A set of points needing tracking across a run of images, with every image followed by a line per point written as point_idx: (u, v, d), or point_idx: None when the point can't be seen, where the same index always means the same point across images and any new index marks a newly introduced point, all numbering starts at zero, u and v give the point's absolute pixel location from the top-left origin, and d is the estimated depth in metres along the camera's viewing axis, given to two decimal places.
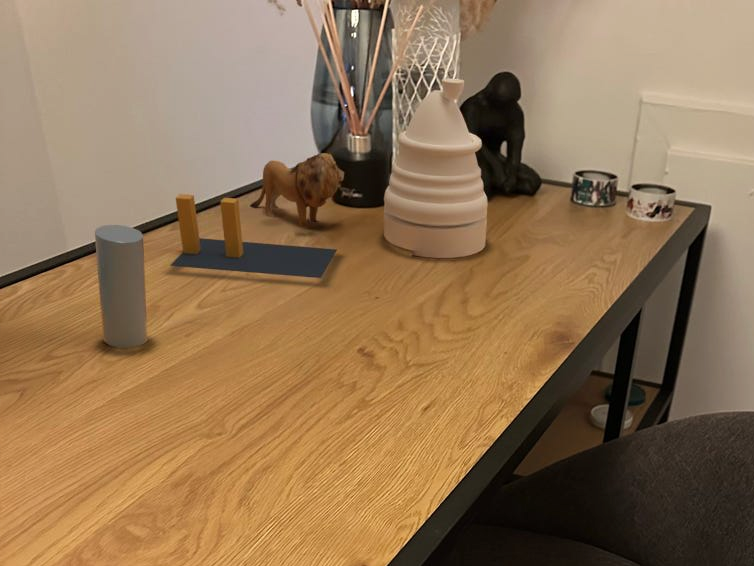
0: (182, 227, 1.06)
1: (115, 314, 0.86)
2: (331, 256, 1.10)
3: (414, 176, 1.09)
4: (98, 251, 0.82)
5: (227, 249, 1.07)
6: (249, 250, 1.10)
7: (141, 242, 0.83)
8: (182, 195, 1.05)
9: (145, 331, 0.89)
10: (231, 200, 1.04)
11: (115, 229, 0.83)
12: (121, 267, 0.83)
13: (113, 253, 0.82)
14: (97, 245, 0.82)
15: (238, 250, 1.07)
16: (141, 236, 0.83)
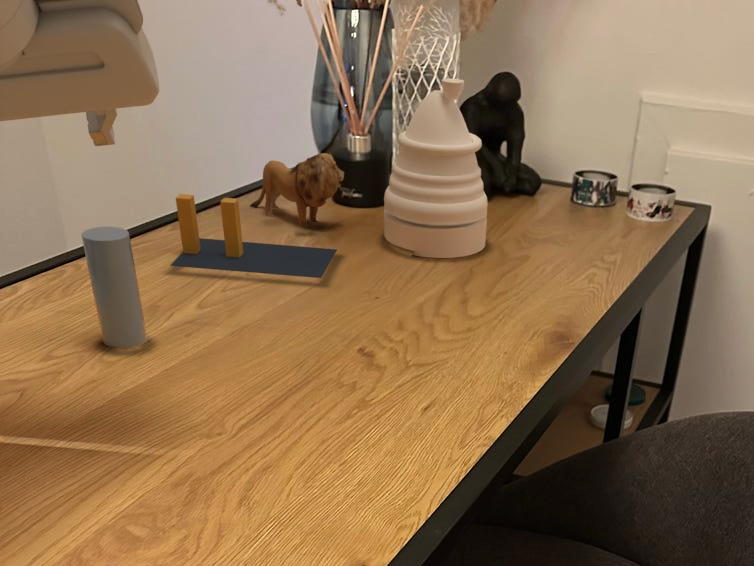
0: (182, 227, 1.06)
1: (111, 316, 0.86)
2: (331, 256, 1.10)
3: (414, 176, 1.09)
4: (86, 253, 0.83)
5: (227, 249, 1.07)
6: (249, 250, 1.10)
7: (127, 239, 0.83)
8: (182, 195, 1.05)
9: (143, 331, 0.89)
10: (231, 200, 1.04)
11: (101, 230, 0.84)
12: (110, 266, 0.83)
13: (100, 253, 0.82)
14: (85, 247, 0.83)
15: (238, 250, 1.07)
16: (127, 233, 0.83)
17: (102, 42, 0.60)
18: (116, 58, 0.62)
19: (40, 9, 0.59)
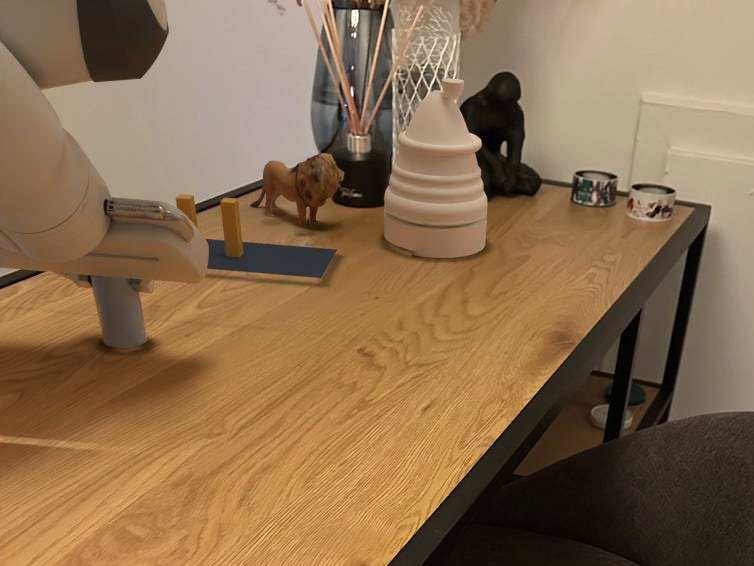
0: None
1: (111, 316, 0.86)
2: (331, 256, 1.10)
3: (414, 176, 1.09)
4: None
5: (227, 249, 1.07)
6: (249, 250, 1.10)
7: None
8: (182, 195, 1.05)
9: (143, 331, 0.89)
10: (231, 200, 1.04)
11: None
12: None
13: None
14: None
15: (238, 250, 1.07)
16: None
17: (156, 249, 0.76)
18: (168, 258, 0.77)
19: (113, 219, 0.74)
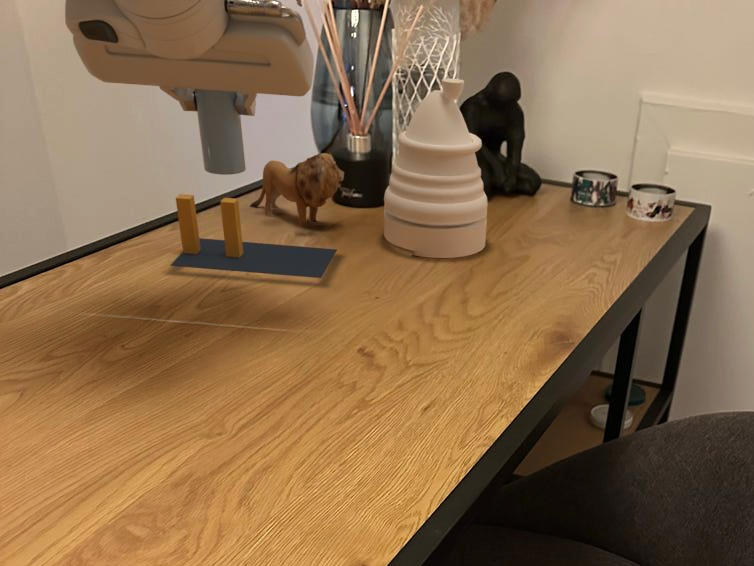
0: (182, 227, 1.06)
1: (214, 137, 0.89)
2: (331, 256, 1.10)
3: (414, 176, 1.09)
4: None
5: (227, 249, 1.07)
6: (249, 250, 1.10)
7: None
8: (182, 195, 1.05)
9: (243, 156, 0.92)
10: (231, 200, 1.04)
11: None
12: None
13: None
14: None
15: (238, 250, 1.07)
16: None
17: (270, 49, 0.79)
18: (279, 62, 0.81)
19: (230, 18, 0.78)
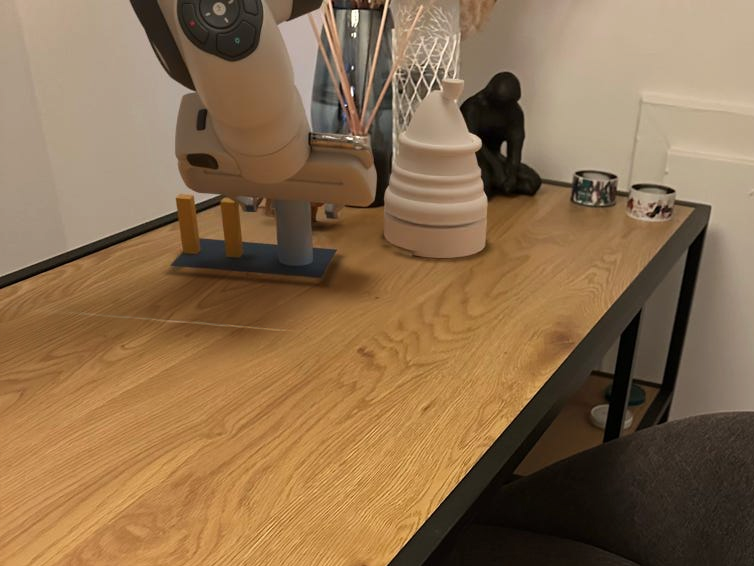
0: (182, 227, 1.06)
1: (289, 236, 1.05)
2: (331, 256, 1.10)
3: (414, 176, 1.09)
4: None
5: (227, 249, 1.07)
6: (249, 250, 1.10)
7: None
8: (182, 195, 1.05)
9: (312, 250, 1.07)
10: (231, 200, 1.04)
11: None
12: None
13: None
14: None
15: (238, 250, 1.07)
16: None
17: (344, 174, 0.94)
18: (351, 182, 0.96)
19: (312, 149, 0.93)
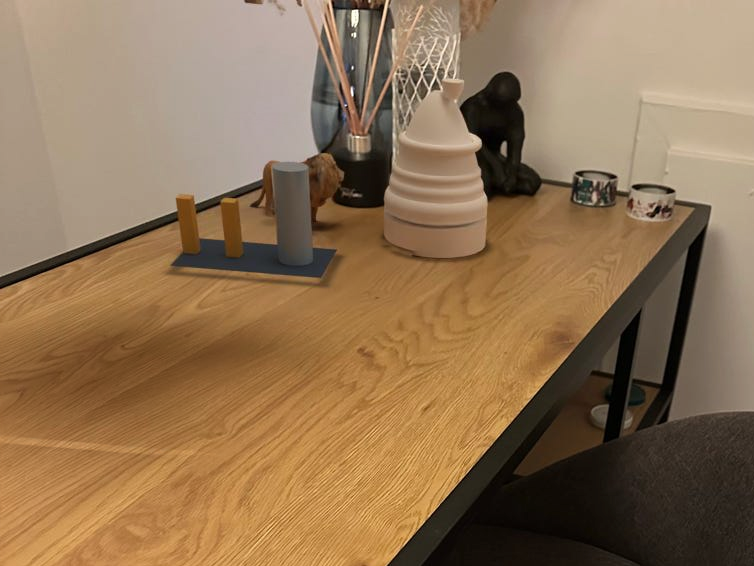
0: (182, 227, 1.06)
1: (289, 236, 1.05)
2: (331, 256, 1.10)
3: (414, 176, 1.09)
4: (275, 182, 1.02)
5: (227, 249, 1.07)
6: (249, 250, 1.10)
7: (307, 171, 1.02)
8: (182, 195, 1.05)
9: (312, 250, 1.07)
10: (231, 200, 1.04)
11: (286, 164, 1.02)
12: (294, 193, 1.02)
13: (287, 181, 1.01)
14: (274, 177, 1.01)
15: (238, 250, 1.07)
16: (307, 166, 1.02)
17: None
18: None
19: None
